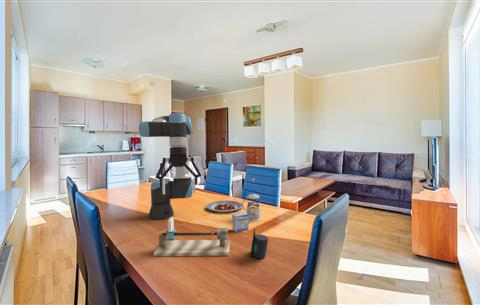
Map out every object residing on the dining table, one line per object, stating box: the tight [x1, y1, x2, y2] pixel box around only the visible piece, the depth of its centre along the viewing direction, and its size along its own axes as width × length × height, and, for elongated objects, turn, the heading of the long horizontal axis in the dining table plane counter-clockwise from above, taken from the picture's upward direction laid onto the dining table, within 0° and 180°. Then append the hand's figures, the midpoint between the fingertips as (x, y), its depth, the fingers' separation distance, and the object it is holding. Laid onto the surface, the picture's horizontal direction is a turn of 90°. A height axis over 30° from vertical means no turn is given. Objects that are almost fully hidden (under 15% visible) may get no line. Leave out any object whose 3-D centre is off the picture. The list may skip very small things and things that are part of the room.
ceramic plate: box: [206, 199, 244, 213], centre depth 169 cm, size 26×26×3 cm
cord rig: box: [153, 227, 231, 257], centre depth 108 cm, size 32×12×9 cm, turn 90°
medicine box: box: [231, 212, 250, 233], centre depth 129 cm, size 8×4×9 cm, turn 117°
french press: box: [241, 178, 262, 222], centre depth 146 cm, size 10×12×25 cm
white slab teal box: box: [165, 216, 177, 241], centre depth 107 cm, size 3×4×9 cm
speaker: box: [250, 228, 269, 260], centre depth 101 cm, size 8×6×10 cm
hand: (179, 193), depth 109 cm, fingers open, 13 cm apart
